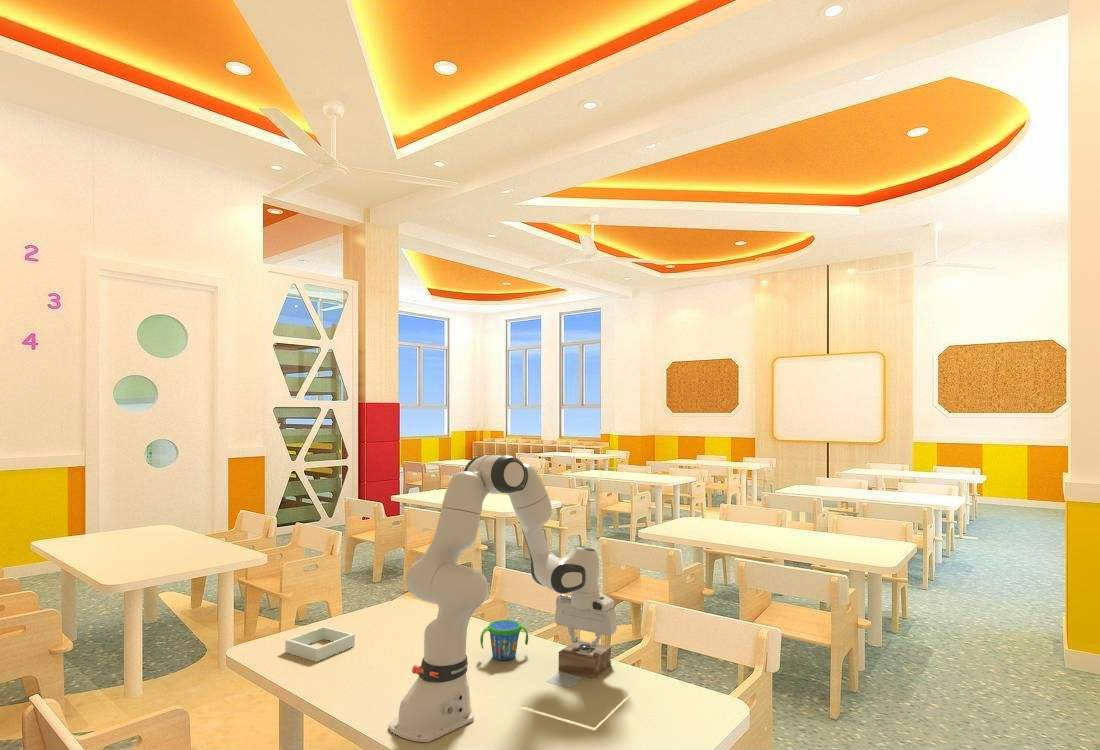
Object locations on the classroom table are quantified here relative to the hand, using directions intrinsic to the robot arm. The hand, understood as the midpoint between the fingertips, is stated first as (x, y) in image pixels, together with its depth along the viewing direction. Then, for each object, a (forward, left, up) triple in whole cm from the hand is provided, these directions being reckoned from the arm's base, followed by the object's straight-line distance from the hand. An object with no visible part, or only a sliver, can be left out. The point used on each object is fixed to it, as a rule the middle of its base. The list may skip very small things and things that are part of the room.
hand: (584, 644), depth 194 cm
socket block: (0, 0, -8) cm, 8 cm away
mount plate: (-11, +1, -8) cm, 13 cm away
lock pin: (0, 0, -8) cm, 8 cm away
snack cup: (-5, +27, -8) cm, 29 cm away
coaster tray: (-32, +83, -8) cm, 89 cm away
